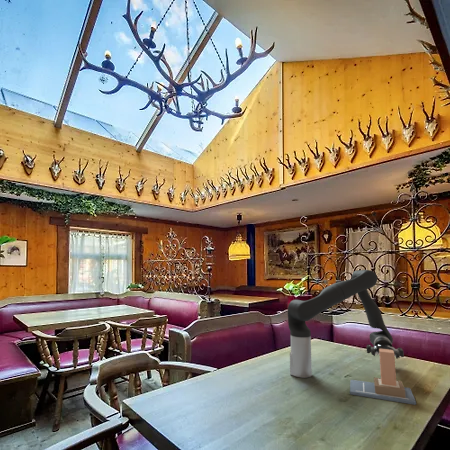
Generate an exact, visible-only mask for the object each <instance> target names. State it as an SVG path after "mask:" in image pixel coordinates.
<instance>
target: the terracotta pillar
mask: <svg viewBox="0 0 450 450" xmlns="http://www.w3.org/2000/svg"><path fill="white" fill-rule="evenodd" d="M378 355H379V367H380V368H379V369H380V370H379V371H380V378H381V383H382V384H385V385H392V386H396V380H397V375H396V371H397V370H396V356H394V351H393V350H389V349H379V354H378Z"/></svg>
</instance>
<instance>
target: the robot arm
mask: <svg viewBox="0 0 450 450" xmlns="http://www.w3.org/2000/svg"><path fill="white" fill-rule="evenodd" d="M377 283H378V275H377V273H375V271H373V270H370V269H358V270H355V271H353V272H352V274H351V279H346V280H342V281H338V282H337V281H336V282H334V283H332V284H330V285H327V286H326V287H324V288H323V289H322V290H321V292H320V293H319V294H318V295H317V296H315V297H313V298H311V299H308V300H300V299H293V300H291V301H290V302H289V304H288V307H287V324H288V329H289V331H290V332H289V333H290V352H289V369H290V370H289V372H290V373H289V374H290V376H294V377H297V378H303V379H304V378H305V379H306V378H311V377H312V376H313V372H312V371H313V367H312V365H313V363H312V362H313V360H312V337H311V329H310V328H309V327H308V325H307V324H306V322H308V321H310V320H312V319H314V317H315V318H316V317H317V316H318V315H320V313H322V312H324V311H326V310H327V309H330V308H332V307H333V306H335V305H338V304H340V303H342V302H344V301H345V300H348V299H349V298H351V297H353V296H355V295H356V294H357V295H358V297H359V300H360V302H361V304H362V306H363V308H364V311H365V315H366V318H367V322H368V325H369V327H370V328H372V329H377V330H378V329H379V330H378V331H373V332H370V333H369V341H370V343H371V344H367V345H366V353H367V354H370V353H371V355H372V356H373V357H376V355H377V356H378V355H379V349H389V350H393V351H394V356H395V360H396V359H398V360H399V359H400V357H401V358H404V356H405V354H404V353H405V352H404V349H403V348H402V347H397V348H395V347H394V346H393V342H394V339H393V336H392V334H391V333H390V331H389V330H388V328H387V326H386V324H385V322H384V318H383V315H382V312H381V309H380V308H379V305H377V303H376V302H375V301H374V299H373V298H372V296H371V295H370V293H369V291H368V290H369V289H372V288H373V287H375V286H376V285H377Z"/></svg>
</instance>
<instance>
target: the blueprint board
mask: <svg viewBox="0 0 450 450" xmlns="http://www.w3.org/2000/svg"><path fill="white" fill-rule="evenodd" d="M349 385H350V386H349V395H352V396H353V395H354V396H357V397H358V396H359V397H364V398H365V397H366V398H372V399H378V400H384V401H390V402H397V403H402V404H409V405H414V406H415V405H417V402H416V399H415V396H414V394H413V391H412V389H411V388H410V387H405V386H404V384H403V381H402V380H397V379H396V386H392V385H385V384H382V383H381V377H373V382H371V381H365V380H357V379H356V380H355V379H350V384H349Z"/></svg>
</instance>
